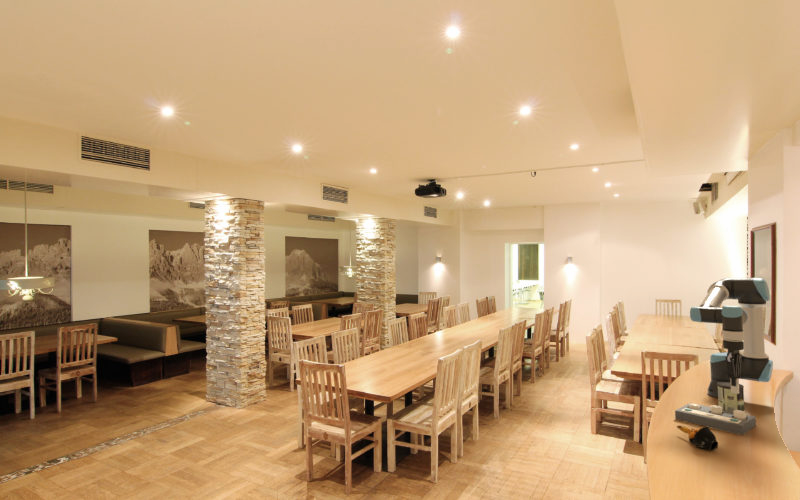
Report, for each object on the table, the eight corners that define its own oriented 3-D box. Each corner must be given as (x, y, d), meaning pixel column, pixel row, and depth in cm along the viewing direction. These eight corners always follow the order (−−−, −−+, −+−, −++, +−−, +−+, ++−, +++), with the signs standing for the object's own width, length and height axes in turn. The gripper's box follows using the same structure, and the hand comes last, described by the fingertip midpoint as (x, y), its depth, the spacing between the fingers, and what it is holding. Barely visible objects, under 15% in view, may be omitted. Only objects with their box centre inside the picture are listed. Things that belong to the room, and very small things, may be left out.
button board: (690, 410, 220) (690, 401, 220) (755, 425, 199) (755, 415, 200) (675, 419, 209) (675, 409, 209) (742, 435, 188) (742, 424, 189)
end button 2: (735, 420, 202) (735, 409, 202) (747, 423, 198) (747, 411, 198) (732, 422, 199) (732, 411, 199) (744, 425, 196) (744, 414, 196)
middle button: (712, 415, 209) (712, 404, 209) (723, 417, 205) (723, 406, 206) (709, 417, 206) (708, 406, 206) (720, 420, 203) (720, 408, 203)
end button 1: (691, 413, 216) (690, 402, 216) (701, 415, 213) (701, 405, 213) (687, 415, 213) (687, 404, 214) (698, 417, 210) (697, 407, 210)
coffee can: (737, 410, 219) (736, 382, 219) (749, 418, 209) (748, 387, 209) (714, 409, 221) (713, 381, 222) (724, 416, 211) (723, 386, 211)
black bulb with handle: (706, 443, 170) (665, 414, 186) (706, 463, 174) (667, 433, 190) (724, 432, 172) (683, 404, 188) (724, 452, 176) (684, 423, 192)
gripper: (728, 337, 208) (730, 388, 207) (717, 340, 200) (719, 393, 199) (748, 339, 202) (750, 392, 201) (737, 342, 194) (740, 397, 193)
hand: (735, 392), depth 200 cm, fingers closed
